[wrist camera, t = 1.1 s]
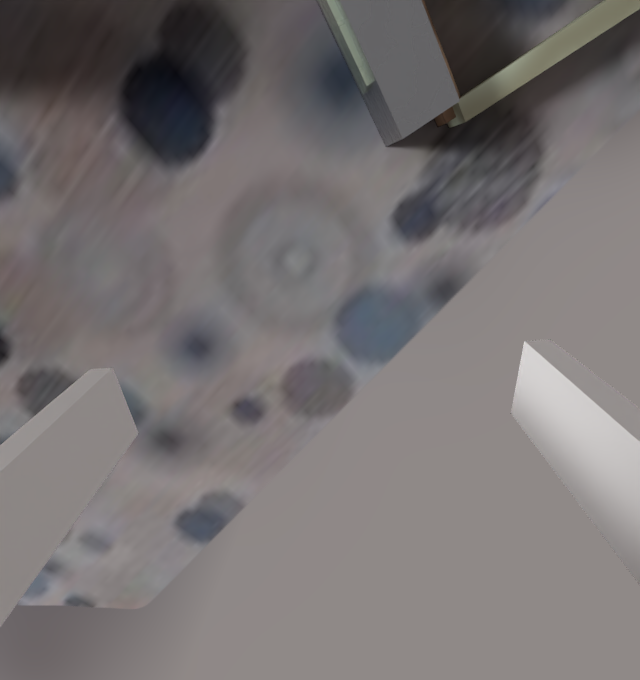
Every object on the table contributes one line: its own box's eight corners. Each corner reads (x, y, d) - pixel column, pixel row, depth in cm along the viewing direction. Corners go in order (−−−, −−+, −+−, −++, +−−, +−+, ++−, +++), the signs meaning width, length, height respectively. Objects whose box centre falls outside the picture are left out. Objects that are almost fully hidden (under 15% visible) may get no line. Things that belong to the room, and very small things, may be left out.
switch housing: (277, -67, 25) (256, -163, 18) (336, -121, 24) (339, -249, 17) (381, 149, 31) (397, 142, 24) (434, 114, 30) (467, 95, 22)
